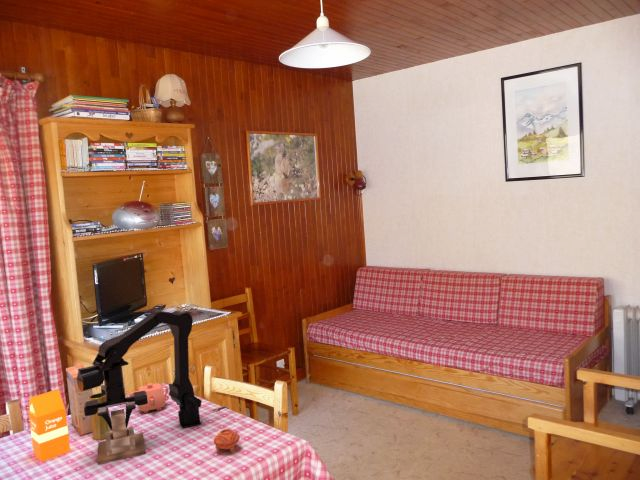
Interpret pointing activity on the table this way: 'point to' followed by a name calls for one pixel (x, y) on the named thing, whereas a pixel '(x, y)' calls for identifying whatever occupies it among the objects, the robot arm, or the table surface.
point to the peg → (118, 424)
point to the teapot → (153, 397)
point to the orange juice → (48, 425)
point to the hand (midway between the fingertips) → (119, 428)
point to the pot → (226, 439)
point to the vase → (99, 420)
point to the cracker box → (78, 402)
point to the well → (120, 447)
